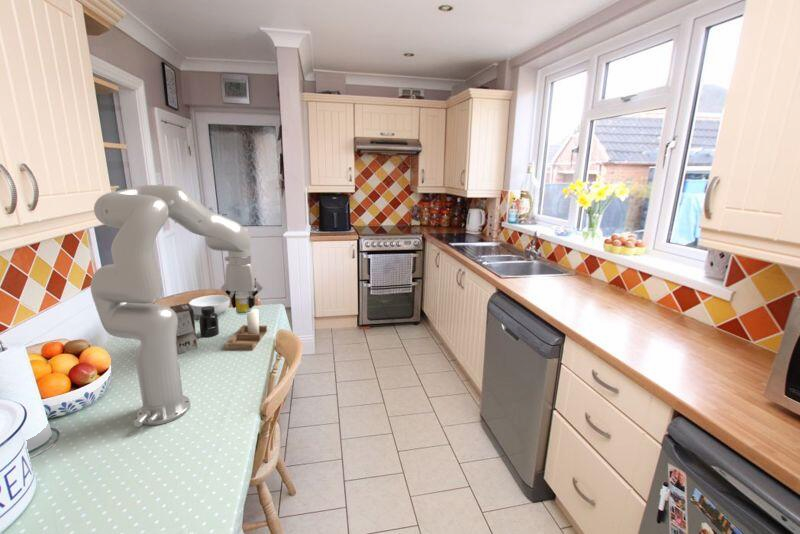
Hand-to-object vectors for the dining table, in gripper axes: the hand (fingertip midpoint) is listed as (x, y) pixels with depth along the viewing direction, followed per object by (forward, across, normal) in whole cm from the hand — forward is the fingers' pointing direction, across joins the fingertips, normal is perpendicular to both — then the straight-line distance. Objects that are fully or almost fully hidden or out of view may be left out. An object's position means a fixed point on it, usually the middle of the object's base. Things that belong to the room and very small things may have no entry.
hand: (243, 306), depth 141 cm
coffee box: (+17, -22, -2) cm, 28 cm away
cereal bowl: (+17, -28, +32) cm, 46 cm away
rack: (+16, -1, +4) cm, 17 cm away
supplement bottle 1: (+17, -18, +9) cm, 26 cm away
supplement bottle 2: (+3, 0, 0) cm, 3 cm away
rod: (+16, 0, +8) cm, 18 cm away
